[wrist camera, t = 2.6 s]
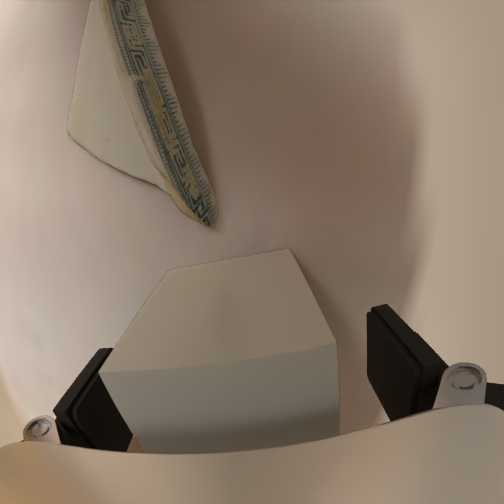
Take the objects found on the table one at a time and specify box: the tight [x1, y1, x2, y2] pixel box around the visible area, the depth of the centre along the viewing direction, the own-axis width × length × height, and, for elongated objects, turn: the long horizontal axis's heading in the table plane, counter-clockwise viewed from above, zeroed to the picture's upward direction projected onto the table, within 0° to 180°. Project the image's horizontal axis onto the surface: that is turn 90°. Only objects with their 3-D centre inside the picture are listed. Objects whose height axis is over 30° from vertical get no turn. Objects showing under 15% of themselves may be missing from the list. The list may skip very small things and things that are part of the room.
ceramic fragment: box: [67, 0, 218, 226], centre depth 9 cm, size 14×5×4 cm, turn 18°
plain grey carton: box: [98, 248, 339, 454], centre depth 10 cm, size 5×5×7 cm
